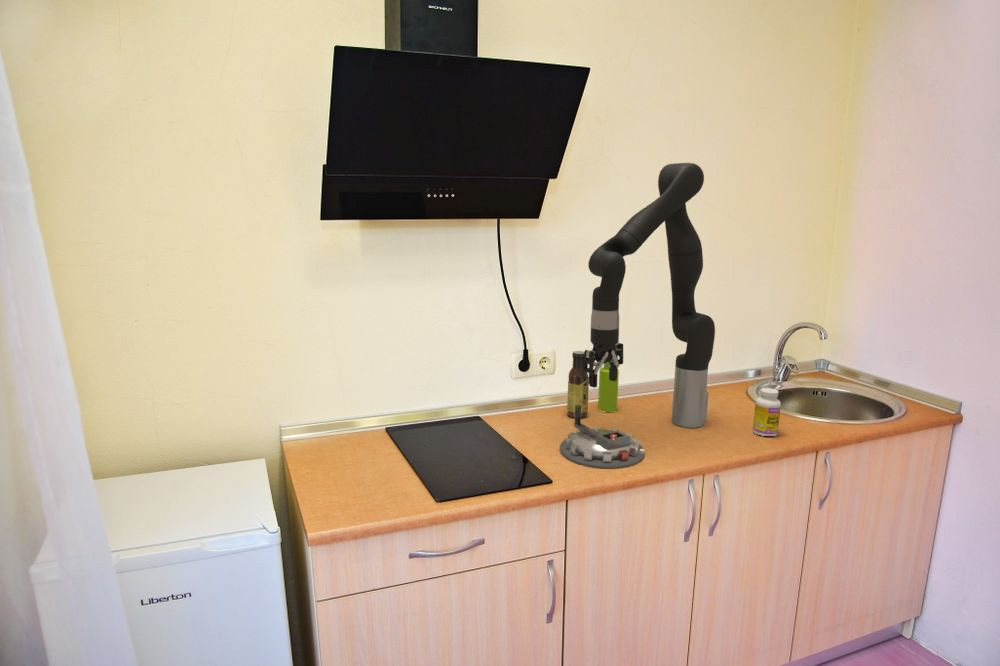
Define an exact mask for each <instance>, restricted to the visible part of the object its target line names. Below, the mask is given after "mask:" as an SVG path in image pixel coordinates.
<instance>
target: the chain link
mask: <svg viewBox="0 0 1000 666" xmlns="http://www.w3.org/2000/svg"><path fill="white" fill-rule="evenodd" d="M616 430H617V431H612V432H607V433H603V434H598V435H596V444H597V445H599V446H601V447H602V448H604V449H606V450H613V449H617V448H622V447H627V446H630V436H628V435H626V434H624V432H622V431H620V430H619V429H616ZM618 430H619V431H618ZM611 434H616V435H617V438H613V439H610V435H611Z"/></svg>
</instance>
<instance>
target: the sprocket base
mask: <svg viewBox="0 0 1000 666" xmlns="http://www.w3.org/2000/svg"><path fill="white" fill-rule="evenodd" d="M645 450H646V449H644V448H643V445H642V444H640V443H639V447H638V454H637V455H636V456H632V455H629V457H628V460H624V461H621V460H620V459H612V460H611V462H603V460H602V459H593V460H592V461H591V460H587V459H584V456H582V455H580V454H579V455H573V454H572V453H571V449H569V448H566V438H565V439H564V440H562V441H561V443H560V445H559V451H560V454H561V456H562V457H564V458H565V459H566V460H568V461H570V462H572V463H573V464H574V463H575V464H577V465H580V466H584V467H588V468H593V469H608V470H610V469H611V470H614V469H615V470H616V469H623V468H629V467H633V466H635V465H637V464H639V463H641V462H642V461H643V460H644V458H645V452H646V451H645Z"/></svg>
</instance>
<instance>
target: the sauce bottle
mask: <svg viewBox="0 0 1000 666" xmlns="http://www.w3.org/2000/svg"><path fill="white" fill-rule="evenodd" d="M584 352H585V351H582V350H574V351H572V354H571V355H572V367H571V369H570V370H569V372H568V382H567V401H566V402H567V405H566V406H567V415H568V416H569V417H571V418H573V417H574V419H575V406H576V405H580V406H581V419H582V417H583V418H585V417H587V416H588V410H589V387H590V386H589V373H587V372H584V371H583V366H584Z"/></svg>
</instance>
